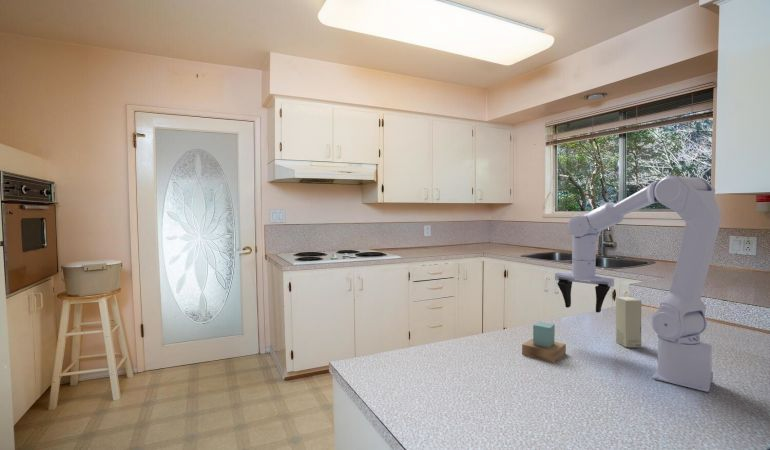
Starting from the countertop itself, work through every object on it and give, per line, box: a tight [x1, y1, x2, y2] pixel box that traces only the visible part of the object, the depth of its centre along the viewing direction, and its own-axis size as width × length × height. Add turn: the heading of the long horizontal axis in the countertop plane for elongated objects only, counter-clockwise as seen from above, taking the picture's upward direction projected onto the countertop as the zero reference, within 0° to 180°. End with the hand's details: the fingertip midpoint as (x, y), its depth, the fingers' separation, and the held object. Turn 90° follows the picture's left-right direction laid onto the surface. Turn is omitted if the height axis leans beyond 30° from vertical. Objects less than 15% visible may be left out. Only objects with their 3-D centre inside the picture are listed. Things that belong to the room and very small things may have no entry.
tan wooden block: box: [521, 338, 567, 364], centre depth 99 cm, size 8×8×3 cm
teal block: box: [532, 321, 556, 348], centre depth 99 cm, size 4×4×5 cm
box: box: [615, 296, 642, 348], centre depth 106 cm, size 5×4×13 cm
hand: (582, 309), depth 106 cm, fingers open, 7 cm apart
